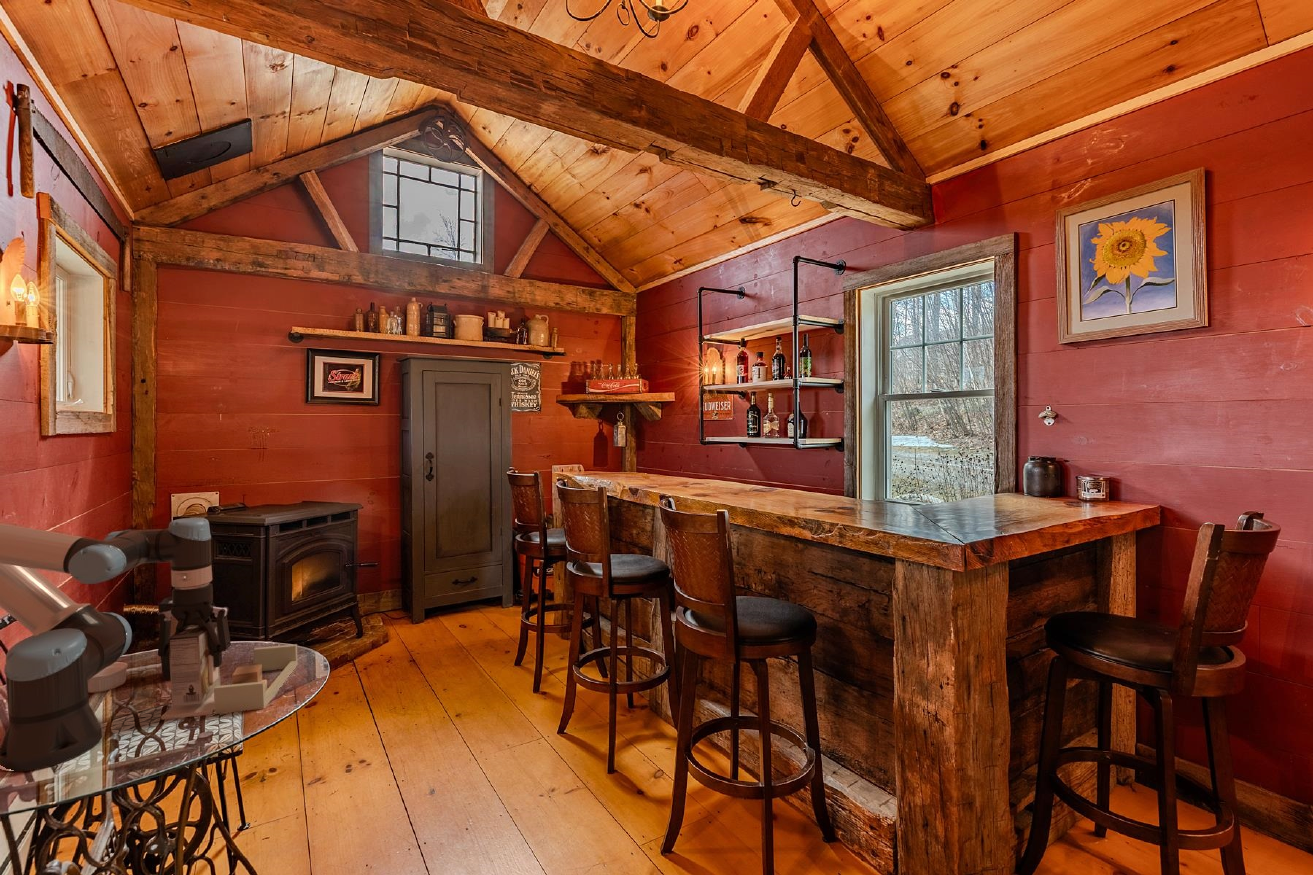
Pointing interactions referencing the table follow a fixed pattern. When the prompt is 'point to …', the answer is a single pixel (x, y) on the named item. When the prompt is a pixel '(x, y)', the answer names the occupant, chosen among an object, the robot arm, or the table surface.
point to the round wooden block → (108, 678)
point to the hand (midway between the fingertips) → (196, 681)
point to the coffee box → (191, 666)
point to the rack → (254, 693)
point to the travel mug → (167, 606)
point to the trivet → (191, 709)
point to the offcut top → (247, 674)
